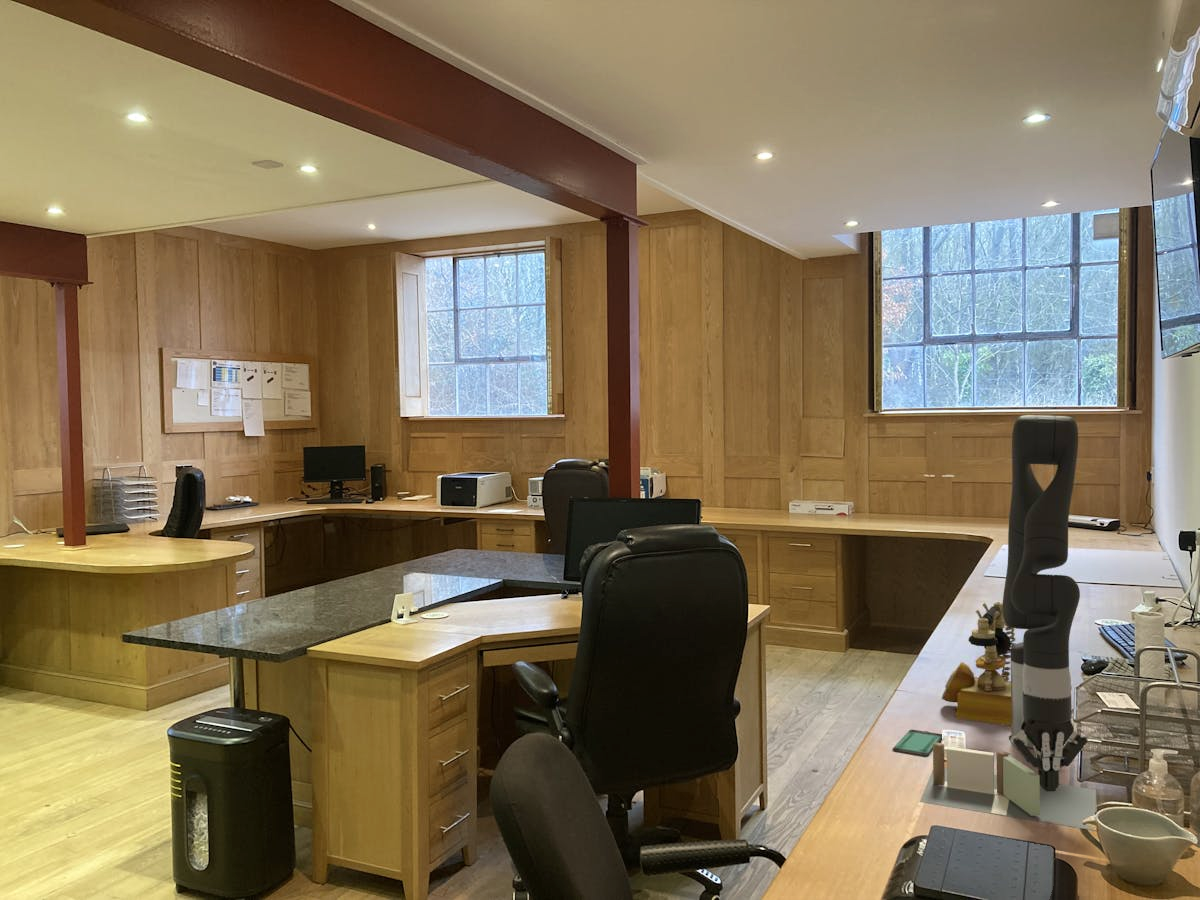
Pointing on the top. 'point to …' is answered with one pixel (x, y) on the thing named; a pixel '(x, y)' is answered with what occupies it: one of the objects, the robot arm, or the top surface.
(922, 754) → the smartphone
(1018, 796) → the fence gate panel
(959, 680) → the tan ornate piece
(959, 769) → the fence fixed section
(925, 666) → the top surface
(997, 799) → the board
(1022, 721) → the robot arm
